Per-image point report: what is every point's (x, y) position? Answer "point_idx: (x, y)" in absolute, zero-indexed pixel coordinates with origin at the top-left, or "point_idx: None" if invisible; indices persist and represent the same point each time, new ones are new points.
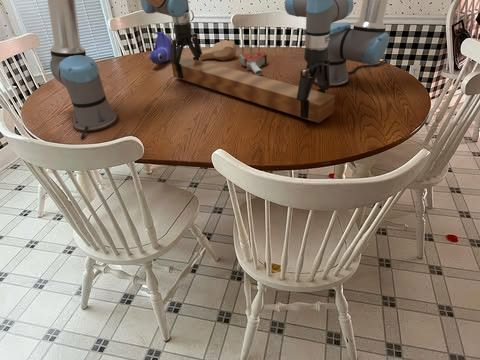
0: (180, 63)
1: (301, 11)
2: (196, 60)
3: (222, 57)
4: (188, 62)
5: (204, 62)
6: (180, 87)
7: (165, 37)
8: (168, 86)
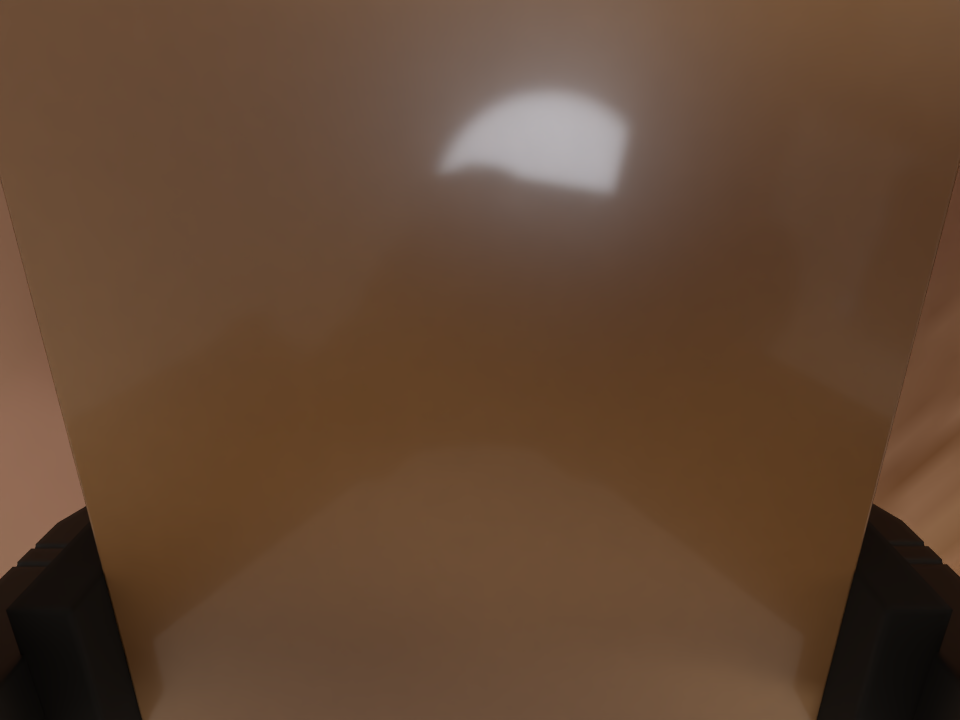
0: (702, 712)
1: None
2: (161, 527)
3: None
4: (489, 592)
5: (45, 45)
6: None
7: None
8: (925, 445)
